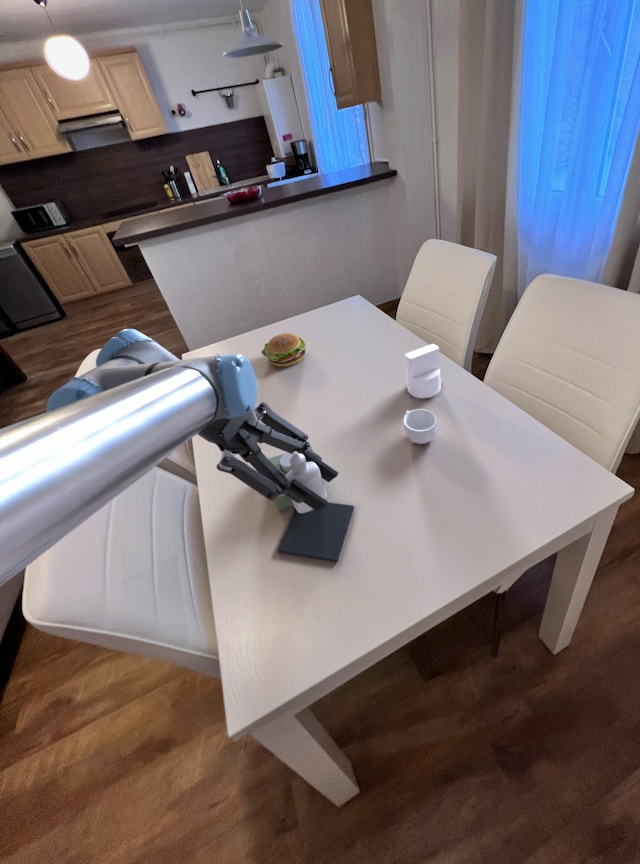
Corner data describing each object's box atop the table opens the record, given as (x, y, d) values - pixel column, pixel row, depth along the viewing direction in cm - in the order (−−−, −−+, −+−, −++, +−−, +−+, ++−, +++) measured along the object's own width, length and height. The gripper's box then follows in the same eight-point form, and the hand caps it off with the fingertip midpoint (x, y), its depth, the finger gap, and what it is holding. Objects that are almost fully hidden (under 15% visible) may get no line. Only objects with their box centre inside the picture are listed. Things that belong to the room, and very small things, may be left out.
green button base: (325, 496, 85) (319, 477, 82) (278, 510, 84) (271, 492, 80) (314, 457, 95) (309, 439, 91) (273, 470, 93) (266, 452, 90)
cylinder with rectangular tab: (418, 402, 106) (415, 364, 99) (401, 385, 113) (398, 349, 106) (447, 390, 109) (446, 353, 102) (429, 375, 116) (427, 338, 109)
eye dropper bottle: (327, 510, 67) (312, 460, 60) (294, 515, 67) (275, 465, 60) (327, 489, 70) (313, 440, 63) (295, 494, 70) (278, 445, 63)
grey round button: (303, 469, 85) (301, 462, 84) (283, 475, 84) (280, 469, 83) (300, 455, 88) (298, 448, 87) (280, 461, 88) (278, 454, 86)
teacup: (444, 439, 94) (443, 422, 91) (416, 453, 92) (415, 436, 88) (419, 417, 101) (418, 400, 98) (393, 429, 99) (391, 412, 96)
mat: (337, 562, 73) (336, 560, 72) (277, 552, 76) (276, 550, 76) (354, 507, 82) (353, 505, 82) (300, 500, 85) (299, 498, 85)
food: (261, 356, 138) (254, 336, 133) (299, 343, 141) (294, 323, 137) (271, 375, 127) (264, 354, 122) (312, 360, 131) (307, 339, 126)
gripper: (226, 385, 70) (332, 460, 75) (160, 464, 56) (296, 549, 61) (244, 360, 65) (355, 441, 70) (177, 439, 51) (322, 533, 56)
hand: (327, 491), depth 65 cm, fingers closed on eye dropper bottle, 5 cm apart
